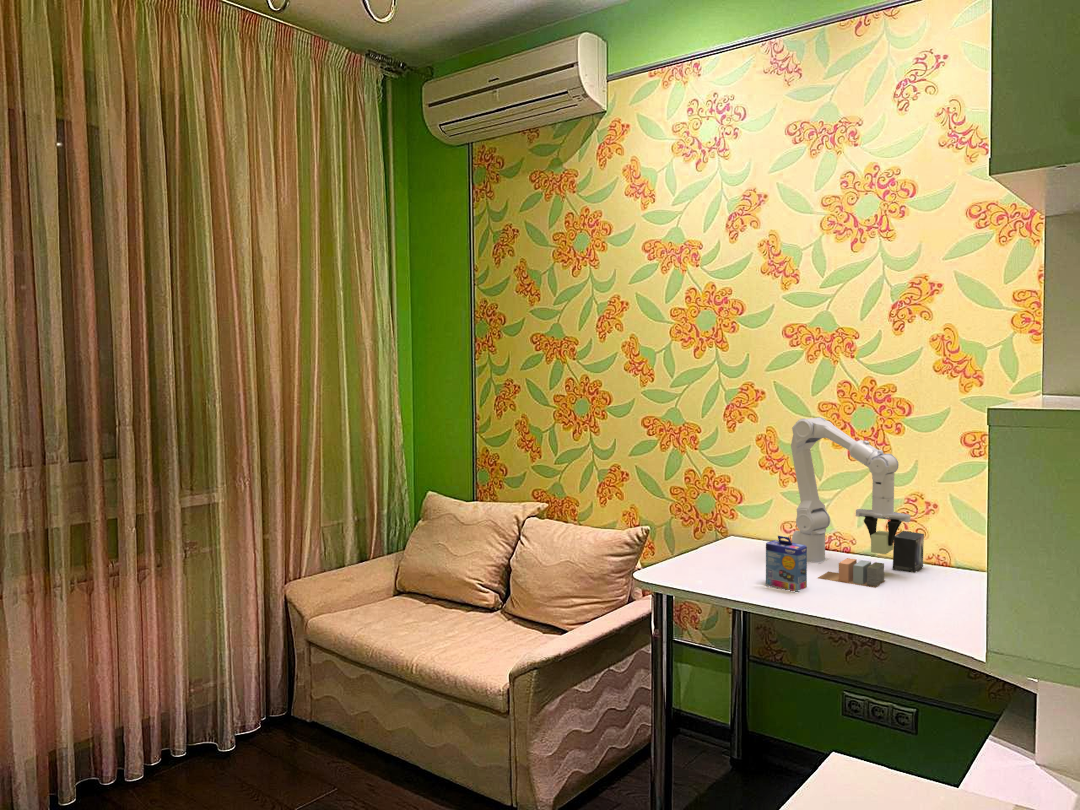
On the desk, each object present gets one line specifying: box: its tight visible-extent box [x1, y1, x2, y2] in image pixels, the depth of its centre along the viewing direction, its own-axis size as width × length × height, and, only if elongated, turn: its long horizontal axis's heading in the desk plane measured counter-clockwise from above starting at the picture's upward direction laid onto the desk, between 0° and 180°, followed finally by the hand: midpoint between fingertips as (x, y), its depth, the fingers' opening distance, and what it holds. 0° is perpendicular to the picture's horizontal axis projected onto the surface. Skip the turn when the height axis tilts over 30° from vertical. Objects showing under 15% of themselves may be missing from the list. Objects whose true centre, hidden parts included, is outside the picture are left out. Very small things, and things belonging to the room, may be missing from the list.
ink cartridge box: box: [765, 535, 808, 593], centre depth 226 cm, size 10×6×14 cm, turn 45°
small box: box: [891, 530, 925, 574], centre depth 244 cm, size 11×6×10 cm, turn 143°
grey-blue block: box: [853, 559, 872, 585], centre depth 230 cm, size 3×7×5 cm, turn 141°
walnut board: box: [817, 571, 886, 589], centre depth 232 cm, size 16×9×1 cm, turn 51°
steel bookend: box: [867, 561, 885, 588], centre depth 228 cm, size 2×7×5 cm, turn 141°
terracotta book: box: [838, 557, 858, 582], centre depth 232 cm, size 3×7×5 cm, turn 141°
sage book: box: [870, 530, 894, 555], centre depth 237 cm, size 4×7×5 cm, turn 141°
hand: (882, 544), depth 237 cm, fingers closed on sage book, 4 cm apart
